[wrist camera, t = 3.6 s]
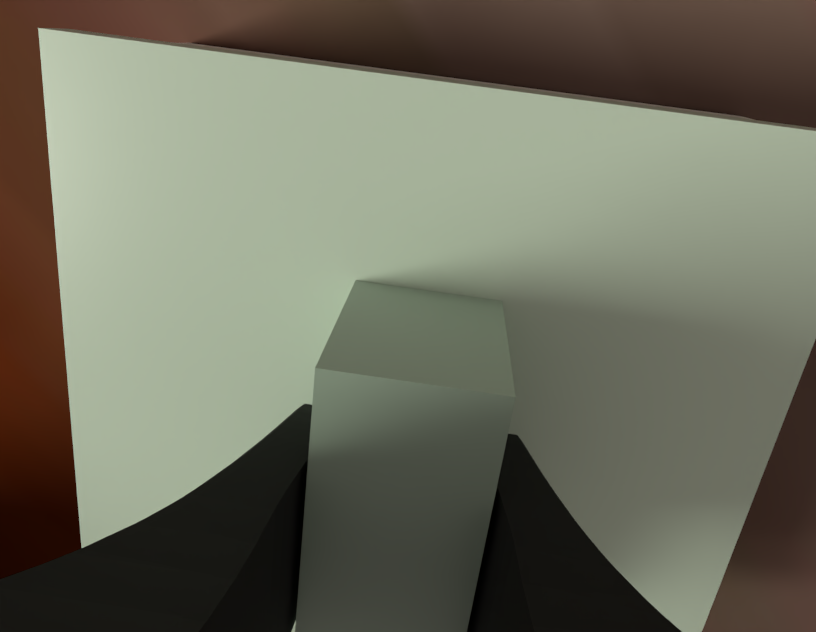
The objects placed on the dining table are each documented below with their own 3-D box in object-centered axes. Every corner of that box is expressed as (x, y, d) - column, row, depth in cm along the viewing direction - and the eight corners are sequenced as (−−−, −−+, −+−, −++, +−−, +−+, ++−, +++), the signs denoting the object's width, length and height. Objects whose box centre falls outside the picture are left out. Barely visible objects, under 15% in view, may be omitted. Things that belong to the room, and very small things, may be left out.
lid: (641, 663, 16) (712, 916, 11) (128, 583, 16) (-6, 797, 12) (829, 126, 11) (1084, 186, 7) (100, 29, 12) (-144, 23, 7)
